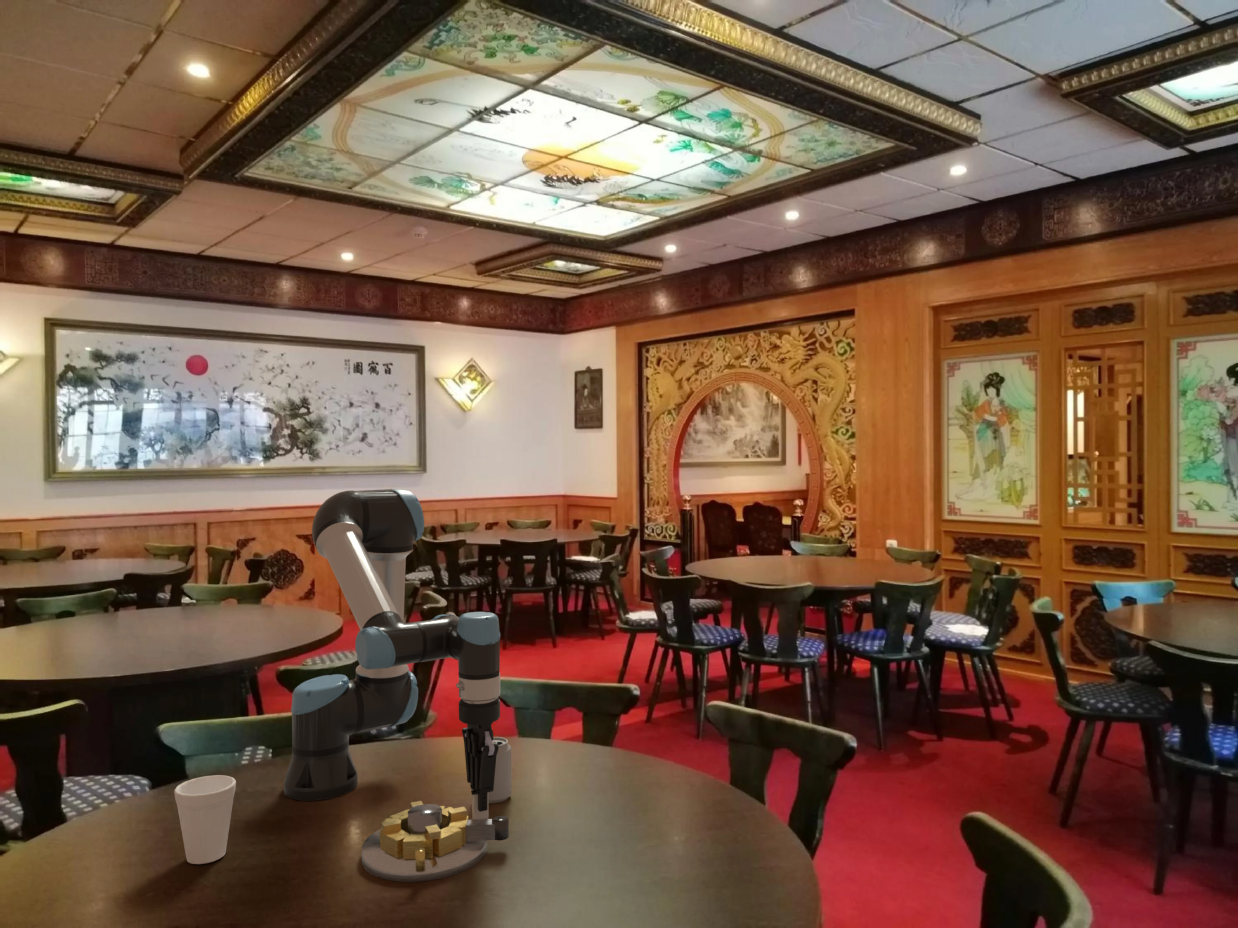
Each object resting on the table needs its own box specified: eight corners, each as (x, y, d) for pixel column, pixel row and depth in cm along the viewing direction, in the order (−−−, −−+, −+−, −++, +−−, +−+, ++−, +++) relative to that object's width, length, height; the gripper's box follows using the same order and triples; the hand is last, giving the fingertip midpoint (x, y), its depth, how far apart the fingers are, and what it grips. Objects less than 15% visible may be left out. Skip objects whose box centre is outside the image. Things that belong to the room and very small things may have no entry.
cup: (205, 874, 147) (204, 798, 147) (161, 865, 150) (160, 791, 150) (249, 850, 156) (248, 778, 156) (207, 842, 160) (206, 772, 160)
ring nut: (373, 859, 147) (373, 835, 147) (391, 823, 162) (391, 801, 162) (505, 855, 148) (505, 830, 148) (511, 819, 163) (511, 797, 163)
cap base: (343, 847, 157) (343, 806, 157) (454, 816, 170) (453, 779, 170) (390, 894, 139) (389, 848, 139) (509, 856, 152) (508, 814, 152)
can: (504, 805, 175) (504, 747, 175) (470, 803, 177) (469, 745, 177) (516, 792, 183) (515, 735, 183) (483, 789, 184) (482, 733, 184)
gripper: (448, 692, 161) (449, 817, 161) (471, 710, 150) (472, 844, 150) (486, 687, 165) (487, 809, 165) (511, 703, 154) (512, 834, 154)
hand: (480, 825), depth 158 cm, fingers closed
